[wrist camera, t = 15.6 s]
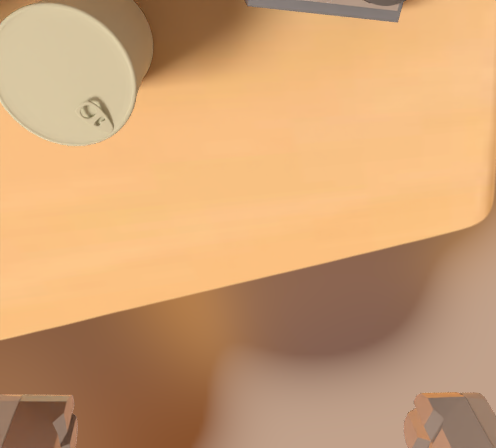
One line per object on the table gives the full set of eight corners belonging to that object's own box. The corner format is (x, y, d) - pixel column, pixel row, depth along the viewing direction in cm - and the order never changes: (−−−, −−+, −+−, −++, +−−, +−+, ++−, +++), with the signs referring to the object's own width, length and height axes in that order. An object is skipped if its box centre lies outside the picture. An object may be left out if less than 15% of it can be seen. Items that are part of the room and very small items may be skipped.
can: (98, 114, 42) (66, 174, 32) (16, 28, 37) (-51, 66, 28) (175, 53, 40) (166, 98, 30) (98, -47, 35) (56, -34, 25)
